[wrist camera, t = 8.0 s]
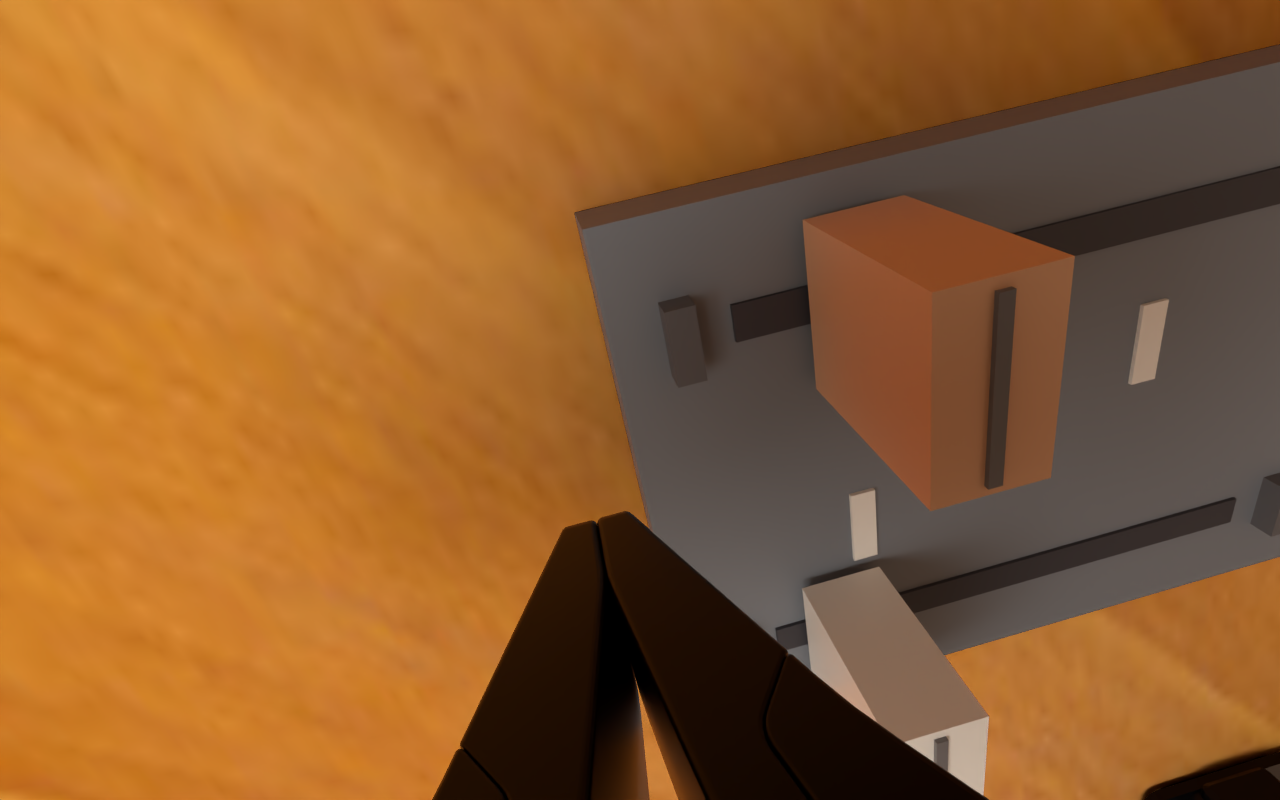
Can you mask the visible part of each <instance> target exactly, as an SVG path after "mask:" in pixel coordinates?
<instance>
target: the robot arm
mask: <svg viewBox="0 0 1280 800" xmlns="http://www.w3.org/2000/svg"><path fill="white" fill-rule="evenodd" d="M597 525H598V526H597ZM635 678H636V679H635ZM636 681H637V684H636ZM637 685H638V688H639V692H640V695H641V698H642V701H643V704H644V707H645V710H646V713H647V716H648V718H649V721H650V724H651V726H652V729H653V732H654V734H655V737H656V740H657V743H658V745H659V748H660V751H661V753H662V756H663V759H664V762H665V764H666V767H667V770H668V772H669V775H670V778H671V781H672V783H673V786H674V789H675V791H676V794H677V797H678V800H989V799H987V798H986V797H984V796H983V795H981V794H980V793H979V792H977V791H976V790H974V789H973V788H971V787H970V786H968V785H967V784H965V783H964V782H962V781H961V780H959V779H958V778H957V777H955V776H954V775H952V774H951V773H949V772H948V771H946V770H945V769H943V768H942V767H940V766H939V765H937V764H936V763H935V762H933V761H932V760H930V759H929V758H927V757H926V756H924V755H923V754H921V753H920V752H918V751H917V750H915V749H914V748H913V747H911V746H910V745H908V744H907V743H905V742H904V741H902V740H901V739H899V738H898V737H897V736H895V735H894V734H892V733H891V732H890V731H888V730H887V729H885V728H884V727H883V726H881V725H880V724H878V723H877V722H876V721H874V720H873V719H871V718H870V717H869V716H867V715H866V714H864V713H863V712H862V711H860V710H859V709H858V708H856V707H855V706H853V705H852V704H851V703H850V702H848V701H847V700H846V699H845V698H844V697H842V696H841V695H840V694H839V693H837V692H836V691H835V690H834V689H833V688H831V687H830V686H829V685H828V684H826V683H825V682H824V681H823V680H822V679H820V678H819V677H818V676H817V675H815V674H814V673H813V672H812V671H811V670H810V669H809V668H808V667H806V666H805V665H804V664H803V663H802V662H801V661H800V660H798V659H797V658H796V657H795V656H794V655H792V654H788V651H787V650H786V649H785V648H784V647H783V646H782V645H781V644H780V643H779V642H777V641H776V640H775V639H774V638H773V637H772V636H771V635H769V634H768V633H767V632H766V631H765V630H764V629H763V628H761V627H760V626H759V625H758V624H757V623H756V622H755V621H753V620H752V619H751V618H750V617H749V616H748V615H747V614H745V613H744V612H743V611H742V610H741V609H740V608H739V607H737V606H736V605H735V604H734V603H733V602H732V601H731V600H729V599H728V598H727V597H726V596H725V595H724V594H723V593H721V592H720V591H719V590H718V589H717V588H716V587H715V586H713V585H712V584H711V583H710V582H709V581H708V580H707V579H705V578H704V577H703V576H702V575H701V574H700V573H699V572H697V571H696V570H695V569H694V568H693V567H692V566H691V565H689V564H688V563H687V562H686V561H685V560H684V559H683V558H681V557H680V556H679V555H678V554H677V553H676V552H675V551H674V550H672V549H671V548H670V547H669V546H668V545H667V544H666V543H664V542H663V541H662V540H661V539H660V538H659V537H658V536H656V535H655V534H654V533H653V532H652V531H651V530H650V529H648V528H647V527H646V526H645V525H644V524H643V523H642V522H640V521H639V520H638V519H637V518H636V517H635V516H634V515H632V514H631V513H630V512H627V511H624V512H620V513H616V514H613V515H609V516H605V517H602V518H600V519H599V520H598V523H596V522H595V521H587V522H583V523H579V524H575V525H572V526H568V527H566V528H565V529H563V531H562V532H561V535H560V537H559V539H558V541H557V543H556V545H555V547H554V549H553V551H552V553H551V555H550V557H549V559H548V562H547V564H546V566H545V568H544V570H543V572H542V574H541V576H540V578H539V580H538V582H537V584H536V587H535V589H534V591H533V593H532V595H531V597H530V599H529V601H528V603H527V605H526V607H525V609H524V612H523V614H522V616H521V618H520V620H519V622H518V624H517V626H516V628H515V630H514V632H513V634H512V637H511V639H510V641H509V643H508V645H507V647H506V649H505V651H504V653H503V655H502V657H501V659H500V662H499V664H498V666H497V668H496V670H495V672H494V674H493V676H492V678H491V680H490V682H489V684H488V687H487V689H486V691H485V693H484V695H483V697H482V699H481V701H480V703H479V705H478V707H477V709H476V712H475V714H474V716H473V718H472V720H471V722H470V724H469V726H468V728H467V730H466V732H465V734H464V737H463V739H462V741H461V743H460V747H461V749H458V750H457V751H456V752H455V754H454V757H453V759H452V761H451V763H450V765H449V767H448V769H447V771H446V773H445V775H444V777H443V780H442V782H441V784H440V785H439V787H438V789H437V791H436V793H435V795H434V797H433V799H432V800H649V790H648V780H647V770H646V760H645V750H644V740H643V730H642V720H641V711H640V703H639V695H638V690H637ZM1145 800H1280V752H1277V753H1274V754H1271V755H1268V756H1265V757H1262V758H1258V759H1255V760H1252V761H1249V762H1246V763H1242V764H1239V765H1236V766H1233V767H1230V768H1227V769H1223V770H1220V771H1217V772H1214V773H1211V774H1208V775H1204V776H1201V777H1198V778H1195V779H1192V780H1188V781H1185V782H1182V783H1179V784H1176V785H1173V786H1169V787H1166V788H1163V789H1160V790H1157V791H1155V792H1152V793H1151V794H1149V795H1148V796H1147V797H1146V798H1145Z"/></svg>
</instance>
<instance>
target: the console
mask: <svg viewBox="0 0 1280 800" xmlns="http://www.w3.org/2000/svg"><path fill="white" fill-rule="evenodd" d="M902 195H905V196H908V197H911V198H914V199H917V200H919V201H922V202H925V203H928V204H931V205H933V206H936V207H939V208H942V209H945V210H947V211H950V212H953V213H956V214H959V215H961V216H964V217H967V218H970V219H973V220H975V221H978V222H981V223H984V224H987V225H989V226H992V227H995V228H998V229H1001V230H1003V231H1006V232H1009V233H1012V234H1015V235H1017V236H1020V237H1023V238H1026V239H1029V240H1031V241H1034V242H1037V243H1040V244H1043V245H1045V246H1048V247H1051V248H1054V249H1057V250H1059V251H1062V252H1065V253H1068V254H1071V255H1073V256H1075V260H1074V269H1073V278H1072V287H1071V297H1070V306H1069V315H1068V324H1067V334H1066V343H1065V352H1064V361H1063V370H1062V380H1061V389H1060V398H1059V407H1058V417H1057V426H1056V435H1055V444H1054V454H1053V463H1052V472H1051V478H1048V479H1045V480H1041V481H1038V482H1034V483H1030V484H1027V485H1023V486H1020V487H1016V488H1013V489H1009V490H1005V491H1002V492H998V493H995V494H991V495H987V496H984V497H980V498H977V499H973V500H969V501H966V502H962V503H959V504H955V505H951V506H948V507H944V508H941V509H937V510H933V511H930V510H929V509H928V508H927V507H926V506H925V505H924V504H923V503H922V502H921V501H920V500H919V499H918V498H917V496H916V495H915V494H914V493H913V492H912V491H911V490H910V489H909V488H908V487H907V486H906V485H905V484H904V482H903V481H902V480H901V479H900V478H899V477H898V476H897V475H896V474H895V473H894V472H893V471H892V470H891V469H890V467H889V466H888V465H887V464H886V463H885V462H884V461H883V460H882V459H881V458H880V457H879V456H878V455H877V454H876V452H875V451H874V450H873V449H872V448H871V447H870V446H869V445H868V444H867V443H866V442H865V441H864V440H863V439H862V437H861V436H860V435H859V434H858V433H857V432H856V431H855V430H854V429H853V428H852V427H851V426H850V425H849V424H848V422H847V421H846V420H845V419H844V418H843V417H842V416H841V415H840V414H839V413H838V412H837V411H836V410H835V409H834V407H833V406H832V405H831V404H830V403H829V402H828V401H827V400H826V399H825V398H824V397H823V396H822V395H821V394H820V392H819V391H818V390H817V389H816V380H815V368H814V355H813V343H812V331H811V319H810V306H809V294H808V282H807V270H806V257H805V245H804V233H803V221H802V220H804V219H808V218H812V217H816V216H820V215H824V214H828V213H833V212H837V211H841V210H845V209H849V208H853V207H857V206H861V205H865V204H869V203H873V202H877V201H882V200H886V199H890V198H894V197H898V196H902ZM575 218H576V222H577V226H578V230H579V234H580V239H581V243H582V247H583V251H584V256H585V260H586V264H587V268H588V272H589V277H590V281H591V285H592V289H593V293H594V298H595V302H596V306H597V310H598V314H599V319H600V323H601V327H602V331H603V336H604V340H605V344H606V348H607V352H608V357H609V361H610V365H611V369H612V373H613V378H614V382H615V386H616V390H617V395H618V399H619V403H620V407H621V411H622V416H623V420H624V424H625V428H626V432H627V437H628V441H629V445H630V449H631V453H632V458H633V462H634V466H635V470H636V475H637V479H638V483H639V487H640V491H641V496H642V500H643V504H644V508H645V512H646V517H647V521H648V525H649V529H650V530H651V531H652V532H653V533H654V534H655V535H656V536H658V537H659V538H660V539H661V540H662V541H663V542H664V543H666V544H667V545H668V546H669V547H670V548H671V549H672V550H674V551H675V552H676V553H677V554H678V555H679V556H680V557H681V558H683V559H684V560H685V561H686V562H687V563H688V564H689V565H691V566H692V567H693V568H694V569H695V570H696V571H697V572H699V573H700V574H701V575H702V576H703V577H704V578H705V579H707V580H708V581H709V582H710V583H711V584H712V585H713V586H715V587H716V588H717V589H718V590H719V591H720V592H721V593H723V594H724V595H725V596H726V597H727V598H728V599H729V600H731V601H732V602H733V603H734V604H735V605H736V606H737V607H739V608H740V609H741V610H742V611H743V612H744V613H745V614H747V615H748V616H749V617H750V618H751V619H752V620H753V621H755V622H756V623H757V624H758V625H759V626H760V627H761V628H763V629H764V630H765V631H766V632H767V633H768V634H769V635H771V636H772V637H773V638H774V639H775V640H776V641H777V642H779V643H780V644H781V645H782V646H783V647H784V648H785V649H786V650H787V651H788V654H792V655H794V656H795V657H796V658H797V659H798V660H800V661H801V662H802V663H803V664H804V665H805V666H806V667H808V668H809V669H810V670H811V665H810V655H809V646H808V637H807V628H806V619H805V610H804V601H803V592H802V588H805V587H808V586H812V585H815V584H819V583H822V582H826V581H829V580H833V579H837V578H840V577H844V576H847V575H851V574H854V573H858V572H861V571H865V570H868V569H872V568H876V567H880V569H881V570H882V571H883V573H884V574H885V575H886V577H887V578H888V579H889V581H890V582H891V584H892V585H893V586H894V588H895V589H896V590H897V592H898V593H899V594H900V596H901V597H902V599H903V600H904V601H905V603H906V604H907V605H908V607H909V608H910V609H911V611H912V612H913V614H914V615H915V616H916V618H917V619H918V620H919V622H920V623H921V624H922V626H923V627H924V629H925V630H926V631H927V633H928V634H929V635H930V637H931V638H932V639H933V641H934V642H935V644H936V645H937V646H938V648H939V649H940V650H941V652H942V653H943V654H944V655H947V654H950V653H953V652H957V651H960V650H964V649H967V648H970V647H974V646H977V645H981V644H984V643H987V642H991V641H994V640H998V639H1001V638H1004V637H1008V636H1011V635H1015V634H1018V633H1022V632H1025V631H1028V630H1032V629H1035V628H1039V627H1042V626H1045V625H1049V624H1052V623H1056V622H1059V621H1062V620H1066V619H1069V618H1073V617H1076V616H1079V615H1083V614H1086V613H1090V612H1093V611H1096V610H1100V609H1103V608H1107V607H1110V606H1113V605H1117V604H1120V603H1124V602H1127V601H1130V600H1134V599H1137V598H1141V597H1144V596H1147V595H1151V594H1154V593H1158V592H1161V591H1165V590H1168V589H1171V588H1175V587H1178V586H1182V585H1185V584H1188V583H1192V582H1195V581H1199V580H1202V579H1205V578H1209V577H1212V576H1216V575H1219V574H1222V573H1226V572H1229V571H1233V570H1236V569H1239V568H1243V567H1246V566H1250V565H1253V564H1256V563H1260V562H1263V561H1267V560H1270V559H1273V558H1277V557H1280V44H1279V45H1275V46H1271V47H1267V48H1263V49H1258V50H1254V51H1250V52H1246V53H1242V54H1237V55H1233V56H1229V57H1225V58H1221V59H1217V60H1212V61H1208V62H1204V63H1200V64H1196V65H1191V66H1187V67H1183V68H1179V69H1175V70H1170V71H1166V72H1162V73H1158V74H1154V75H1149V76H1145V77H1141V78H1137V79H1133V80H1129V81H1124V82H1120V83H1116V84H1112V85H1108V86H1103V87H1099V88H1095V89H1091V90H1087V91H1082V92H1078V93H1074V94H1070V95H1066V96H1061V97H1057V98H1053V99H1049V100H1045V101H1040V102H1036V103H1032V104H1028V105H1024V106H1020V107H1015V108H1011V109H1007V110H1003V111H999V112H994V113H990V114H986V115H982V116H978V117H973V118H969V119H965V120H961V121H957V122H952V123H948V124H944V125H940V126H936V127H932V128H927V129H923V130H919V131H915V132H911V133H906V134H902V135H898V136H894V137H890V138H885V139H881V140H877V141H873V142H869V143H864V144H860V145H856V146H852V147H848V148H844V149H839V150H835V151H831V152H827V153H823V154H818V155H814V156H810V157H806V158H802V159H797V160H793V161H789V162H785V163H781V164H776V165H772V166H768V167H764V168H760V169H755V170H751V171H747V172H743V173H739V174H735V175H730V176H726V177H722V178H718V179H714V180H709V181H705V182H701V183H697V184H693V185H688V186H684V187H680V188H676V189H672V190H667V191H663V192H659V193H655V194H651V195H647V196H642V197H638V198H634V199H630V200H626V201H621V202H617V203H613V204H609V205H605V206H600V207H596V208H592V209H588V210H584V211H579V212H575Z"/></svg>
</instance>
